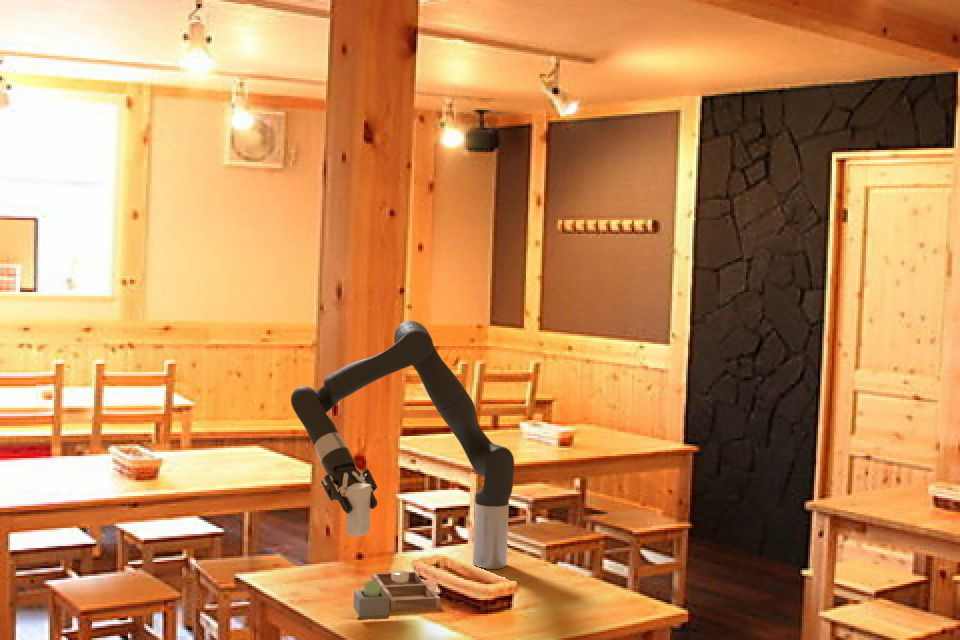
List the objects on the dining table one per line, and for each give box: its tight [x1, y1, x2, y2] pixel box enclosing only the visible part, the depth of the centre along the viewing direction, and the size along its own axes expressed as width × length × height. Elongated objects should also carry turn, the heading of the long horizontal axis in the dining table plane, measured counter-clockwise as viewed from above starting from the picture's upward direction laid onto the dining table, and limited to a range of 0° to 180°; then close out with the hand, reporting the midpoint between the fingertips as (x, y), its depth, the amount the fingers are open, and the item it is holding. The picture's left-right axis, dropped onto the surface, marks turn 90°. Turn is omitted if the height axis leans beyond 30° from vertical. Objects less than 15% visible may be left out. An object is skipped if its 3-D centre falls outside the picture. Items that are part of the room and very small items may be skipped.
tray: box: [371, 571, 441, 612], centre depth 297 cm, size 23×12×4 cm, turn 17°
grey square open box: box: [353, 589, 390, 621], centre depth 284 cm, size 7×7×5 cm
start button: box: [363, 580, 380, 597], centre depth 283 cm, size 4×4×4 cm
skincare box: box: [345, 483, 372, 537], centre depth 298 cm, size 6×4×12 cm
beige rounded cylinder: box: [390, 570, 409, 585], centre depth 302 cm, size 4×4×4 cm
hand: (362, 509), depth 297 cm, fingers closed on skincare box, 7 cm apart
